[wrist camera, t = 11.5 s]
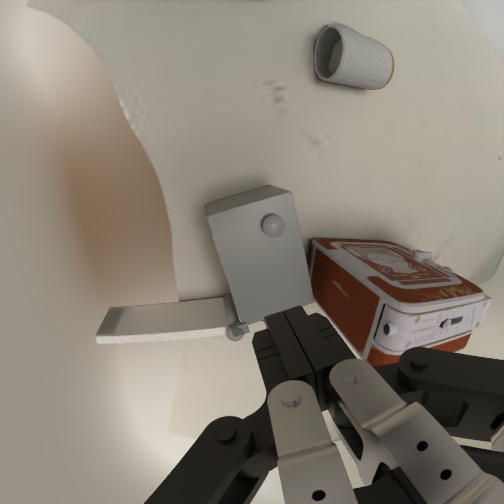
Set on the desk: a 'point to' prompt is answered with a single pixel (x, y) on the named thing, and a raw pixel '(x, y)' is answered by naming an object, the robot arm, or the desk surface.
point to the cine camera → (393, 298)
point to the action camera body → (260, 254)
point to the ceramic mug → (352, 58)
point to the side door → (168, 321)
